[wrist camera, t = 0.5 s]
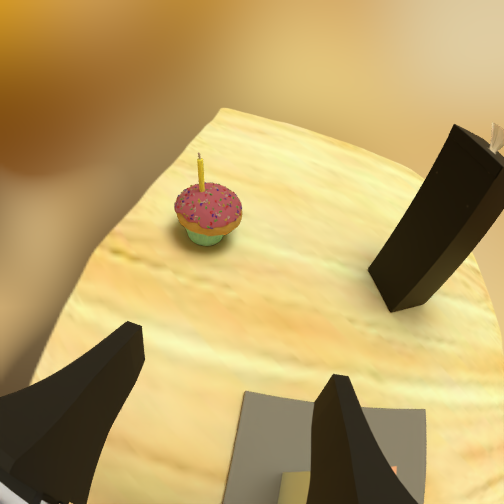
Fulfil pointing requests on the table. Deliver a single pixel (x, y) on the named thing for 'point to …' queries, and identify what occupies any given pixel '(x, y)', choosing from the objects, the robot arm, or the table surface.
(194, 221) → the cupcake
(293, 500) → the sage block
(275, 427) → the rubber mat
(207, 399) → the table surface
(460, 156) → the black pillar candle
